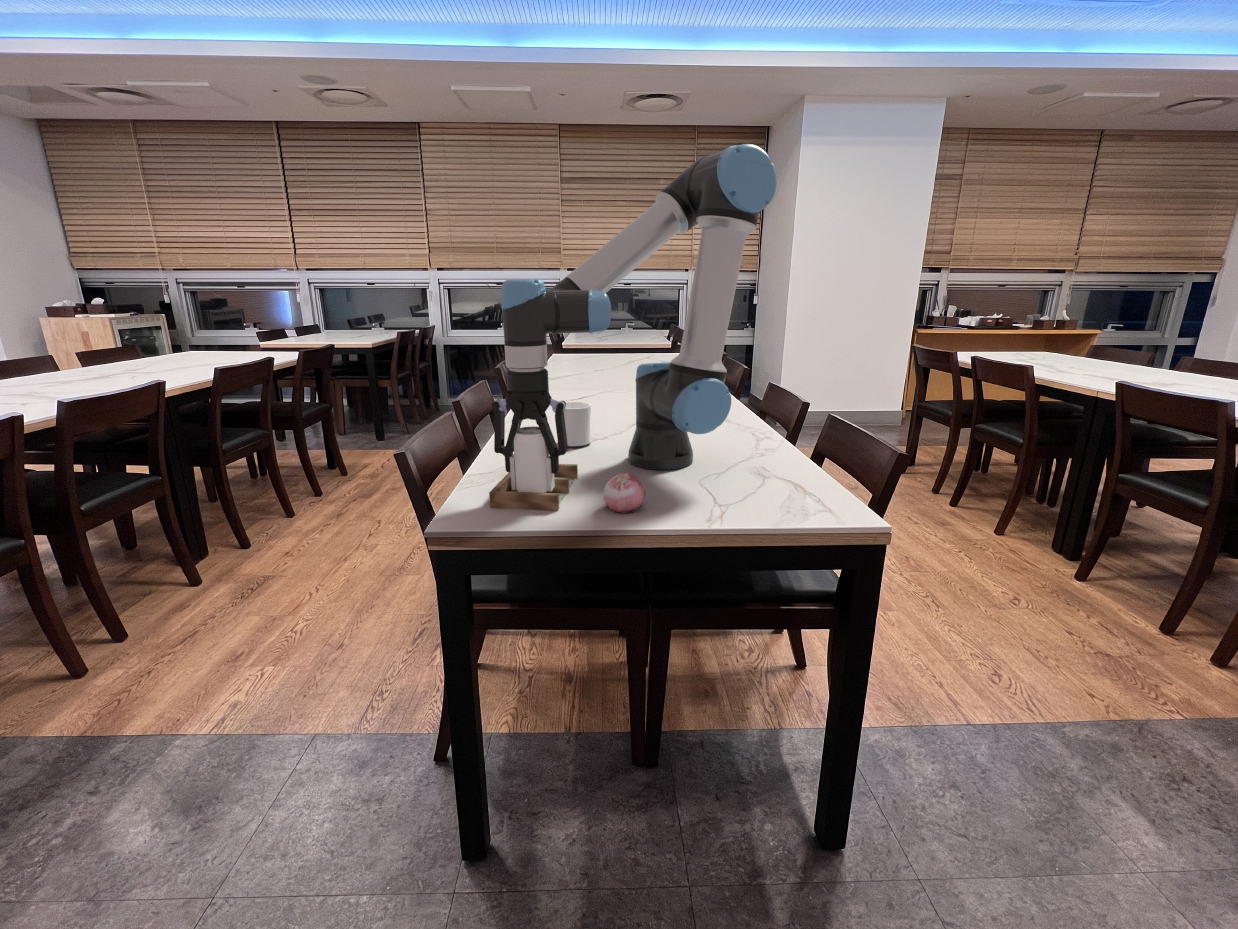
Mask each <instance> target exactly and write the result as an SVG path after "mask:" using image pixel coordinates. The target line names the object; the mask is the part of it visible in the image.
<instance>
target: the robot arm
mask: <svg viewBox="0 0 1238 929" xmlns="http://www.w3.org/2000/svg"><path fill="white" fill-rule="evenodd" d="M777 177H778V176H777V172H776V168H775V164H774V163H772V161H771V158H770V155H768V153H767V152H766V151H765V150H764V149H762V148H761V147H759V146H758V145H755V144H752V143H743V144H739V145H738V144H736V145H732V146H729V147H727V148H725V149H724V150H722V151H721V150H720V151H718V152H715V153H713V154H710V155H705V156H703V157H701V158H699V159H697V160H695V161H694V162H693V163H691V164H690V165H688V167H687V168H685V169H684V170H682V172H681V173H680V174H679V175H678V176H676V178H674V179H673V180H672V181H671V182H670V183H669V184H668V185H666V187H664V188H663V189H662V190H661V191H660V192H658V193H656V196H655V201H654V203H653V204H652V205H651V206H650V207H648V208H647V209H646V210H644V212H642V213H641V214H640V215H639V216H638V217H636V218H635V219H634V220H632V222H630V223H629V224H628V225H627V226H626V227H624V228H623V229H622V230H620V232H618V233H617V234H616V235H614V236H613V237H612V238H611V239H609V241H607V242H606V243H605V244H603V245H601V247H600V248H599V249H597V250H596V251H595V252H594V253H592V254H591V255H590V256H589V257H588V258H586V260H584V261H583V262H582V263H581V264H580V265H578V266H577V267H576V268H575V269H573V271H571V272H569V274H567V275H566V276H565V277H564V278H563V279H562V280H560V281H558V282H557V283H556V284H555V285H554V286H553V287H551V288H547V289H546V287H545V282H544V281H543V279H506V280H505V281H503V282H502V284H501V306H500V307H501V312H502V313H501V314H502V325H503V326H502V327H503V339H504V355H505V356H504V357H505V358H504V359H505V360H504V361H505V367H506V368H507V371H506V372H505V374H506V376H505V377H506V390H507V392H506V396H505V398H504V399H496V400H494V401H493V402H491V408H492V411H493V413H494V429H493V430H494V432H493V434H494V438H493V439H494V441H493V442H494V444H493V445H494V446H493V448H494V450H493V451H494V453H495V454H501V455H502V456H504V464H505V471H506V472H507V473H509V472H511V486H512V490H516V474H515V458H514V437H515V435H516V432H518V431H519V429H520V428H521V426H522V422H523V420H532V421H535V423H536V425H537V427H539V428H540V431H541V432H542V433H541V434H542V436H543V438H544V441H545V444H546V447H547V449H548V452H549V456H548V457H547V458H546V468H547V490H548V491H552V490H553V488H554V487H555V482H554V474H557V472H558V470H559V464H560V460H559V458H560V456H564V455H565V454H566V453H567V452H568V451H569V448H568V443H567V435H566V427H565V418H564V411H565V406H566V401H565V400H556V399H553V398H552V396H551V394H550V392H549V391H550V390H549V389H550V388H549V387H550V386H549V385H550V384H549V371H548V370H547V368H546V367H547V366H548V345H547V344H548V343H547V342H548V341H547V340H548V339H547V335H555V334H575V333H576V334H582V333H586V334H587V333H589V334H592V333H599V332H605V331H606V330H607V329H608V328H609V326H610V324H611V319H612V305H611V300H610V297H609V295H608V294H607V293H608V292H609V291H610V290H612V289H613V288H615V286H616V285H617V284H618V283H620V282H621V281H622V280H624V278H626V277H627V276H628V275H630V273H632V272H633V271H634V270H636V268H638V267H639V266H641V265H642V263H644V262H645V261H646V260H648V258H650V257H651V256H652V255H653V254H655V253H656V252H657V251H658V250H659V249H660V248H662V247H663V246H664V245H665V244H666V243H668V242H670V240H671V239H672V238H674V237H675V236H676V235H682V236H683V235H685V234H686V233H687V232H689V231H690V230H691V229H693V228H694V227H696V226H699V227H700V230H701V234H700V240H699V246H698V251H697V257H696V261H695V265H694V266H695V268H694V273H693V278H692V284H691V288H690V294H689V295H690V296H689V300H688V305H687V310H686V312H687V313H686V317H685V322H684V329H683V333H682V338H681V345H680V350H679V354H678V355H677V356H675V357H674V358H672V359H671V360H670V362H669V361H665V362H663V361H662V362H651V363H650V362H648V363H641V364H639V365H638V366H637V368H636V375H635V379H634V380H635V430H634V433H633V436H632V439H631V442H630V445H629V449H628V458H627V459H628V462H629V463H630V464H631V465H633V466H635V467H638V468H643V469H647V470H659V471H660V470H661V471H663V470H665V471H666V470H676V469H682V468H685V467H688V466H690V465H692V463H693V461H694V450H693V448H692V447H693V446H692V444H691V440H690V437H689V434H688V433H690V434H694V435H705V434H709V433H711V432H713V431H715V430H716V429H717V428H718V427H720V426H721V425H723V423H724V422H725V420H726V419H727V418H728V416H729V414H730V411H731V408H732V395H731V392H730V391H729V388H728V386H727V385H726V384H725V382H726V379H727V373H728V370H727V367H725V365H724V364H723V361H722V359H723V354H724V349H725V344H726V340H727V333H728V329H729V324H730V320H731V315H732V310H733V309H732V308H733V304H734V300H735V294H736V291H737V290H736V289H737V284H738V279H739V273H740V268H741V263H742V260H743V255H744V254H743V253H744V250H745V244H746V238H747V236H750V234H752V233H753V232H755V230H756V229H757V224H758V219H759V216H760V212H761V211H762V210H764V209H765V208H766V207H767V206H769V204H770V203H771V202H772V200H773V198H774V196H775V194H776V190H777V185H778V184H777V183H778V182H777V180H778V178H777ZM507 406H508V407H509V409H510V410H511V411H512V413H513V415H512V419H511V424H510V429H509V431H508V432H509V433H508V436H507V439H506V444H505V437H506V436H505V434H506V433H505V430H506V429H505V424H506V421H505V420H506V409H507ZM550 407H551V410H552V412H553V413H554V422H555V423H554V424H555V429H556V437H557V443H556V440H555V436H554V435H553V432H552V429H551V426H550V423H549V421H548V416H547V413H546V412H547V410H548V409H549V408H550ZM515 431H516V432H515Z"/></svg>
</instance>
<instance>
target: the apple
mask: <svg viewBox="0 0 1238 929" xmlns="http://www.w3.org/2000/svg"><path fill="white" fill-rule="evenodd" d="M646 492H647V491H646V487H645V485H644V483H643V482H642V480H641V479H640V478H639V477H638V476H636V475H635V474H633V473H630V472H629V473H628V472H624V473H620V474H617V475H615V476H613V477H612V478H611V479H609V481H607V483H606V484H605V486H604V489H603V493H602V495H603V496H602V497H603V500H604V503H605V507H604V509H610V510H611V511H612V512H614V513H615V512H616V513H618V514H619V513H620V514H626V513H627V514H634V513H635V512H636V511H637V510H638V509H640V507H641V506H642V504H643V503H644V501H645V498H646V495H647V494H646Z"/></svg>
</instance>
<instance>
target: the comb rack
mask: <svg viewBox="0 0 1238 929" xmlns="http://www.w3.org/2000/svg"><path fill="white" fill-rule="evenodd" d="M578 471H579V470H578V464H574V463H572V464H571V463H570V464H569V463H559V470H558V472H557V474H554V482H555V487H554V488H553V490H552V491H547V492H546V493H532V492H518V491H517V489H516V490H512V486H511V472H507V473H506V475H504V477H503V478H501V480H500V481H499V482H498V483H497V484H496V485H495V486H494V487H493V488H492V489H491V490H490V491H488V494H489V507H490V509H491V508H492V509H511V510H512V509H513V510H534V511H535V510H536V511H559V510H560V504H561V502H562V501H563V499H564V497H565V496H566V494H567V495H569V493H570V487H571V486H572V485H573V483H574V480H577V479H578V477H579V474H578V473H579V472H578Z"/></svg>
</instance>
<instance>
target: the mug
mask: <svg viewBox="0 0 1238 929" xmlns="http://www.w3.org/2000/svg"><path fill="white" fill-rule="evenodd" d="M565 402H566V401H565ZM591 415H592V404H591V403H589V402H586V401H567V402H566V406H565V411H564V418H565V427H566V435H567V443H568V449H583V448H586V447H588V446H590V445H591V434H592V433H591V432H592V431H591V429H592V428H591V424H592V423H591V420H592V418H591V417H592V416H591Z"/></svg>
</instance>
